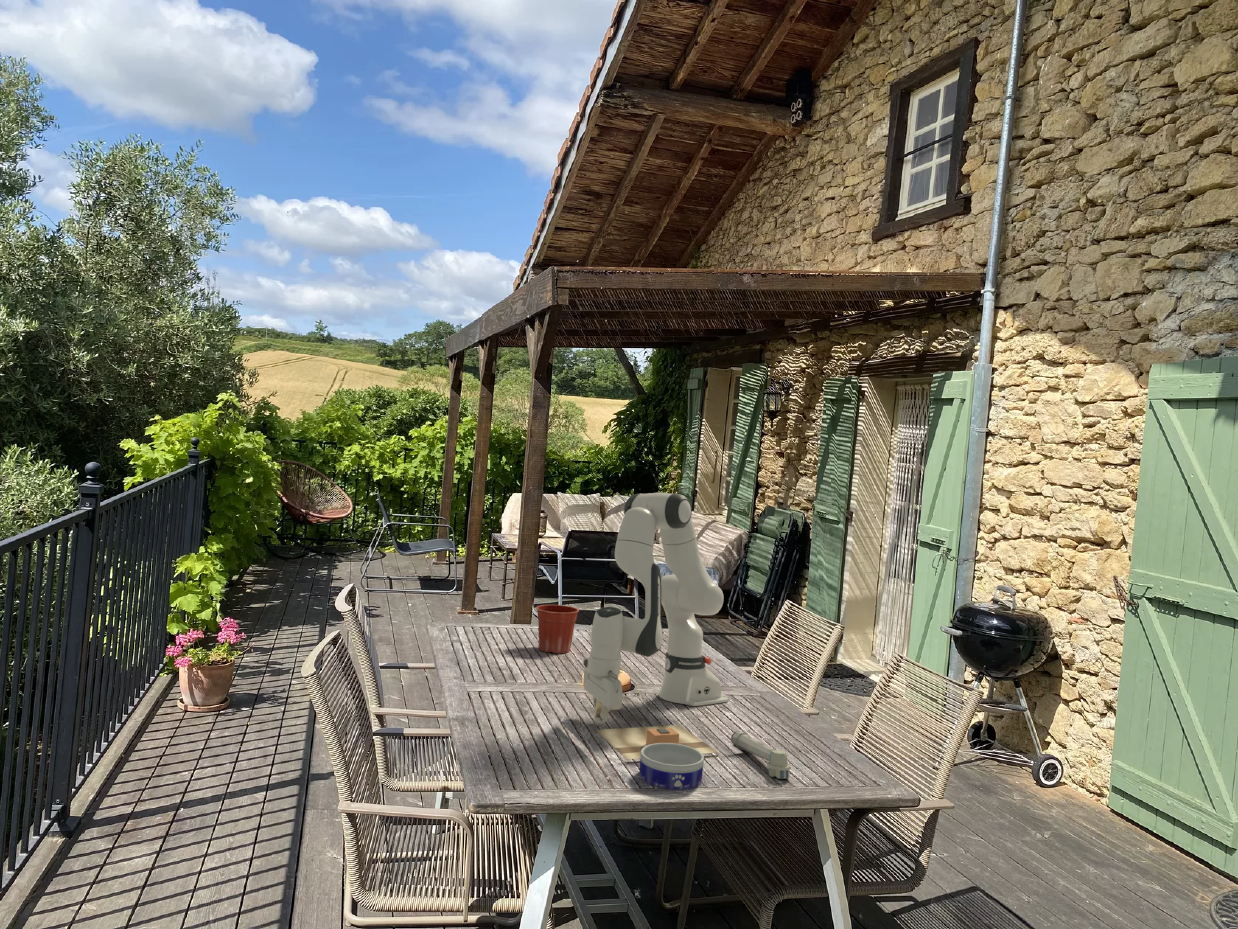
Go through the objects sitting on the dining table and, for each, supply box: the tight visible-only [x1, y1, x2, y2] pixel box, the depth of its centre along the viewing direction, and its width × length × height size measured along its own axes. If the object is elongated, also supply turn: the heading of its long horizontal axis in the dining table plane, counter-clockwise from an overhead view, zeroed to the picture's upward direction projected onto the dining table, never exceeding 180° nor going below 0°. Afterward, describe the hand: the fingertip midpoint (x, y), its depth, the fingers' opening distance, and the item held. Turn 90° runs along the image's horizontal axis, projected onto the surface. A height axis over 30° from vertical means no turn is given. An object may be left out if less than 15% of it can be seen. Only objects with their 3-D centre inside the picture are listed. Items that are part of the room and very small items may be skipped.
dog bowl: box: [639, 743, 705, 791], centre depth 201 cm, size 15×15×6 cm
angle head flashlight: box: [730, 731, 792, 780], centre depth 217 cm, size 5×7×25 cm
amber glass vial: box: [594, 699, 607, 728], centre depth 233 cm, size 3×3×9 cm
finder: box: [646, 728, 679, 745], centre depth 219 cm, size 7×5×4 cm
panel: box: [595, 724, 719, 765], centre depth 223 cm, size 26×22×1 cm
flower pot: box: [535, 604, 580, 654], centre depth 321 cm, size 16×16×16 cm
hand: (600, 716), depth 233 cm, fingers closed on amber glass vial, 3 cm apart
